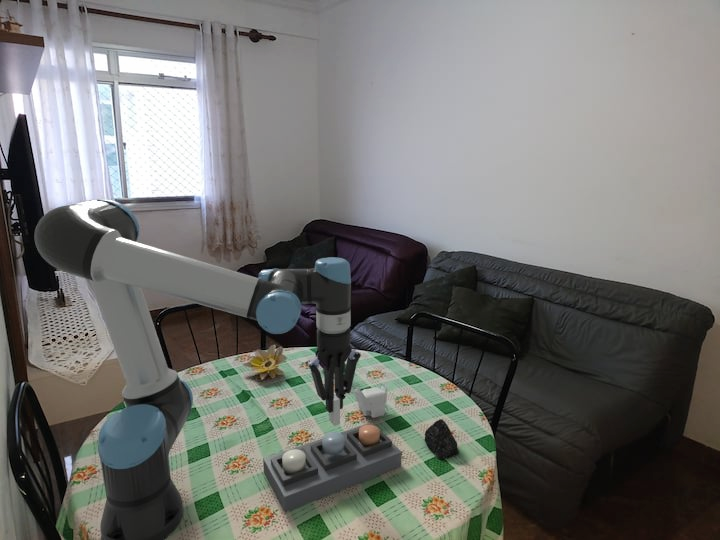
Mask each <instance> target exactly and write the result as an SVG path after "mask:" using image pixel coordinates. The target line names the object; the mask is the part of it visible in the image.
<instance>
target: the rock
mask: <svg viewBox="0 0 720 540" xmlns="http://www.w3.org/2000/svg"><path fill="white" fill-rule="evenodd" d="M424 443H425V444H426V447H427V448H428V449H430V451H432V453H434V455H435V456H436V458H437V459H438V460H439V461H443V462H444V461H445V459H450V458H453V457H455V456H458V455H459V454H460V451H459V448H458V442H457V440H456V439H455V437H454V435H453V434H452V432H451V429H450V427H449V425H448V424H447V423H446V421H445V420H444V419H442V418H440V419H438V420H437V421H435V422H433V424H431V425H430V426H429V427H428V428H427V429H426V430H425V431H424Z"/></svg>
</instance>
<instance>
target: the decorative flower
mask: <svg viewBox="0 0 720 540" xmlns="http://www.w3.org/2000/svg"><path fill="white" fill-rule="evenodd" d="M276 346H277V345H275V344H271V345H270V346H269V347H268V349H267V351H266V350H264V349H263V350H262V349H256V350H255V352H254V356H251V358H250V360H249V361H247V362H244V363H242V364H241V366H242V367H245V368H249V369H250V371H251V372H253V373H257V374H259V376H260V379H261V380H263V379H264V378H265V377H267V376H268V375H269V377H270V378H272V379H274V378H276V375H279V376H282V375H284V374H285V372H284V371H283V370H282V369H280V368H279V365H281V364H282V363H284V362H286V361H287V360H288V358H287V356H286V355H285V354H283V353H284V347H282V346H279V347H277V348H276Z"/></svg>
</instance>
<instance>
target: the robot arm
mask: <svg viewBox="0 0 720 540" xmlns="http://www.w3.org/2000/svg"><path fill="white" fill-rule="evenodd" d="M139 236H140V225H139V222H138V219H137V217H136V216H135V214H134V213H133V212H132V210H131V209H130V208H128V207H127V206H126V205H123V204H122V203H120V202H118V201H115V200H111V199H99V198H98V199H90V200H87V201H83V202H82V201H81V202H77V203H74V204H68V205H61V206H57V207H55V208H53V209H51V210H49V211H48V212H46V213H45V214H43V216H42V217H41V218H40V219H39V220H38V222H37V225H36V226H35V229H34V236H33V237H34V242H35V247H36V248H37V249H36V250H37V251H38V253H39V254H40V256H41V258H43V260H45V262H47V263H48V264H49V265H51V266H52V267H54V268H55V269H57V270H60V271H61V272H64V273H66V274H69V275H72V276H76V277H79V278H82V279H86V280H88V281H89V282H90V285H91V287H92V288H91V289H92V291H93V293H94V297H95V299H96V302H97V305H98V307H99V310H100V312H101V316H102V318H103V322H104V324H105V327H106V329H107V332H108V335H109V339H110V341H111V344H112V346H113V349H114V352H115V355H116V357H117V360H118V363H119V365H120V369H121V371H122V375H123V377H124V380H125V386H124V388H123V389H122V390H121V395H122V399H123V401H124V404H125V406H126V407H124V408H123V409H121V411H120V412H118V411H117V412H115V413H114V414H112V415H110V416H109V417H108V418H107V419H106V420H105V421H104V422H103V424H102V426H101V427H100V430H99V433H98V437H97V439H98V444H97V452H98V456H99V459H100V464H101V465H100V466H101V471H102V472H101V473H102V477H103V479H102V480H103V484H104V490H105V496H106V501H105V504H104V507H103V508H104V509H103V512H102V516H101V520H100V526H99V527H100V528H99V529H100V536H101V539H102V540H165V539H166V538H168V537H169V536H170V535H171V534H172V533H173V532H174V531H175V530H176V529H177V527H178V526H179V525H180V523H181V521H182V519H183V516H184V515H183V514H184V504H183V498H182V495H181V493H180V492H179V490H178V489H177V487H176V485H175V484H174V482H173V480H172V479H171V478H172V477H171V468H170V460H169V458H170V457H169V456H170V451H171V449H172V447H173V446H174V443H176V440H177V438H178V437H179V435H180V432H181V431H182V429H183V428H184V425H185V424H186V422H187V420H188V418H189V417H190V415H191V411H192V408H193V404H194V403H193V402H194V395H193V391H192V389H191V386H189V384H188V383H187V382H186V381H185V380H182V379H181V378H180V377H179V374H178V372H177V371H176V370H174V369H172V368H169V367H168V364H167V361H166V357H165V356H164V352H163V350H162V346H161V344H160V343H161V342H160V339H159V337H158V335H157V331H156V328H155V325H154V324H155V323H154V322H153V319H152V316H151V313H150V309H149V307H148V303H147V300H146V298H145V294H144V292H143V290H147V291H151V292H154V293H157V294H162V295H165V296H169V297H173V298H176V299H179V300H183V301H186V302H190V303H194V304H198V305H201V306H204V307H208V308H212V309H214V310H218V311H223V312H225V313H226V312H227V313H230V314H233V315H237V316H240V317H243V318H246V319H250V320H254V321H257V323H258V325H259V326H260V327H261V328H262V330H264V331H265V332H267V333H269V334H274V335H281V334H285V333H287V332H289V331H291V330H292V329H294V327H295V326H296V324H298V323H297V322H298V321H299V318H300V317H301V314H302V305H306V304H307V305H310V304H312V305H313V304H315V309H316V311H315V313H316V316H315V317H316V328H317V329H316V352H315V354H314V355H315V357H313V358H312V359H311V360H310V359H307V361H306V362H305V365H306V366H307V367H308V368H309V370H310V372H311V376H312V380H313V383H314V387H315V391H316V394H317V396H318V397H319V398H320V399H321V400H322V401H325V409H326V411H327V412H328V421H329V422H330V423H331V424H332V425H333V426H334V427H335V426H338V425H341V410H342V409H343V407H344V400H345V399H346V394H350V393H351V391H352V387H353V383H354V378H355V374H356V368H357V364H358V362H359V360H360V358H361V357H362V356H361V355H362V354H361V353H360V352H359V351H357V350H356V349H354V348H352V346H351V342H352V341H351V339H352V338H351V331H352V330H351V328H350V327H351V326H352V325H351V317H352V316H351V315H352V314H351V306H352V305H351V304H352V303H351V295H352V294H351V291H352V285H351V284H352V279H351V278H352V277H351V276H352V275H351V264H350V262H349V261H348V260H346V259H345V258H342V257H334V256H331V257H329V256H328V257H322V258H318V259H317V260H316V261H315V264H314V268H276V267H275V268H272V269H271V268H270V269H262V270H261V271H260V272H259V273H258V276H257V277H255V276H252V275H249V274H246V273H242V272H239V271H235V270H232V269H229V268H226V267H221V266H219V265H216V264H212V263H209V262H204V261H201V260H198V259H195V258H192V257H188V256H185V255H182V254H178V253H175V252H172V251H169V250H164V249H161V248H159V247H155V246H152V245H148V244H145V243H141V242H137V241H138V239H139ZM319 361H320V362H321V363H322V365H323V368H324V369H323V368H322V369H323V371H324V373H323V374H324V377H323V378H324V380H323V378H322V375H321V372H320V365H319ZM323 381H324V382H323Z"/></svg>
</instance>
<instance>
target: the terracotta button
mask: <svg viewBox="0 0 720 540" xmlns="http://www.w3.org/2000/svg"><path fill="white" fill-rule="evenodd" d="M363 425H364V426H362V425H361V426H362V427H361V428H360V429H359V442H360V443H361V444H362V445H364V446H372V445H375V444H377V443H379V441H380V430H381V429H380V428H379V427H378V426H377V425H376V426H377V427H376V426H374V425H365V424H363ZM379 429H380V430H379Z"/></svg>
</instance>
